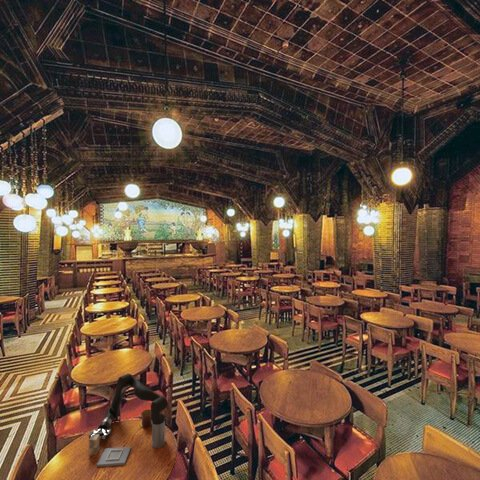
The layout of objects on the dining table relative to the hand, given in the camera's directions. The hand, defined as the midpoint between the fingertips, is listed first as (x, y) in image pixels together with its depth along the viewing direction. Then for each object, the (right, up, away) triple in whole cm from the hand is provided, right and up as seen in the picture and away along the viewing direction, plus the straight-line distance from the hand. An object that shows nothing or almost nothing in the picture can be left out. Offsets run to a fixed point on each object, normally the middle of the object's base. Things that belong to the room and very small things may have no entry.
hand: (96, 440), depth 197 cm
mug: (+29, -6, +26) cm, 40 cm away
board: (+17, -6, -7) cm, 19 cm away
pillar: (0, -6, -3) cm, 7 cm away
